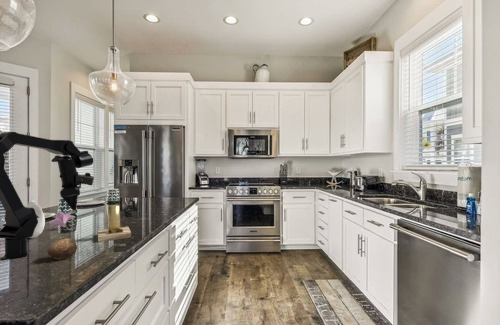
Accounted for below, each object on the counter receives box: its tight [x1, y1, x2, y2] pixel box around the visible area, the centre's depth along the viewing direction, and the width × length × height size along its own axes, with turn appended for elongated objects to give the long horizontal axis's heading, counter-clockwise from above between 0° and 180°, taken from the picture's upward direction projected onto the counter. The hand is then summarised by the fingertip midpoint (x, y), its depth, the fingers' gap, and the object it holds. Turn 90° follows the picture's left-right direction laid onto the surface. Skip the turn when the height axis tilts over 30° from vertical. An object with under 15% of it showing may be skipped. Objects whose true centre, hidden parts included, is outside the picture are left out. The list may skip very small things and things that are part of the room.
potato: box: [46, 238, 78, 261], centre depth 87 cm, size 8×8×6 cm
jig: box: [97, 226, 132, 243], centre depth 111 cm, size 12×12×2 cm
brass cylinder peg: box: [107, 204, 121, 234], centre depth 111 cm, size 4×4×13 cm
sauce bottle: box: [25, 194, 46, 239], centre depth 109 cm, size 8×8×18 cm
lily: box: [48, 210, 76, 230], centre depth 123 cm, size 11×11×9 cm
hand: (75, 206), depth 109 cm, fingers open, 9 cm apart
